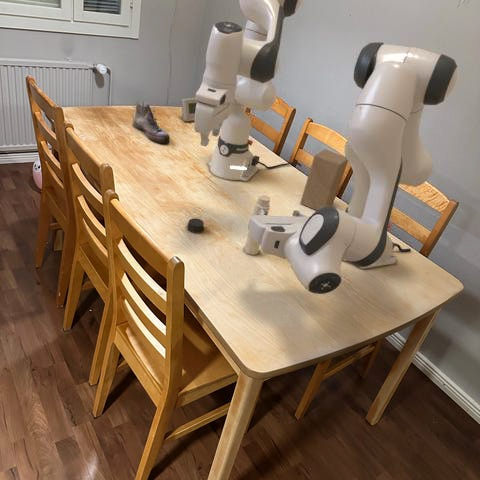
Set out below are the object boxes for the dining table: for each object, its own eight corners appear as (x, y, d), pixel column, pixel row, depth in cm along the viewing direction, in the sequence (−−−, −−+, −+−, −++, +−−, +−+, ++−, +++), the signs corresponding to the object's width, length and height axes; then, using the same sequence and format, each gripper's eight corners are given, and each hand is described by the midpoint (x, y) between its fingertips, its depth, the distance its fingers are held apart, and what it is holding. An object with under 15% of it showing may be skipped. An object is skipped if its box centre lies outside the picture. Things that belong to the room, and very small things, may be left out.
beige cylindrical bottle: (257, 248, 136) (271, 195, 127) (258, 256, 133) (272, 202, 123) (244, 245, 136) (257, 193, 126) (244, 253, 132) (257, 199, 123)
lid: (190, 233, 136) (191, 226, 135) (185, 224, 140) (186, 218, 138) (204, 232, 138) (206, 226, 137) (200, 224, 142) (201, 217, 140)
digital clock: (183, 122, 219) (186, 101, 213) (175, 116, 224) (177, 95, 219) (211, 122, 228) (214, 101, 222) (202, 115, 233) (205, 95, 228)
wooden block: (323, 213, 164) (339, 164, 154) (299, 203, 168) (314, 154, 157) (332, 205, 172) (349, 158, 161) (310, 195, 176) (324, 148, 165)
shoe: (173, 145, 192) (176, 117, 186) (149, 145, 187) (151, 117, 180) (153, 123, 209) (155, 98, 203) (130, 123, 204) (132, 97, 197)
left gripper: (219, 80, 125) (211, 127, 132) (193, 95, 108) (186, 147, 115) (240, 86, 124) (231, 133, 132) (217, 101, 107) (208, 154, 114)
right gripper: (340, 231, 106) (318, 203, 116) (261, 229, 99) (245, 199, 110) (332, 253, 109) (311, 223, 120) (255, 252, 102) (240, 221, 113)
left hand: (209, 140), depth 123 cm, fingers open, 8 cm apart
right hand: (279, 212), depth 115 cm, fingers open, 8 cm apart
